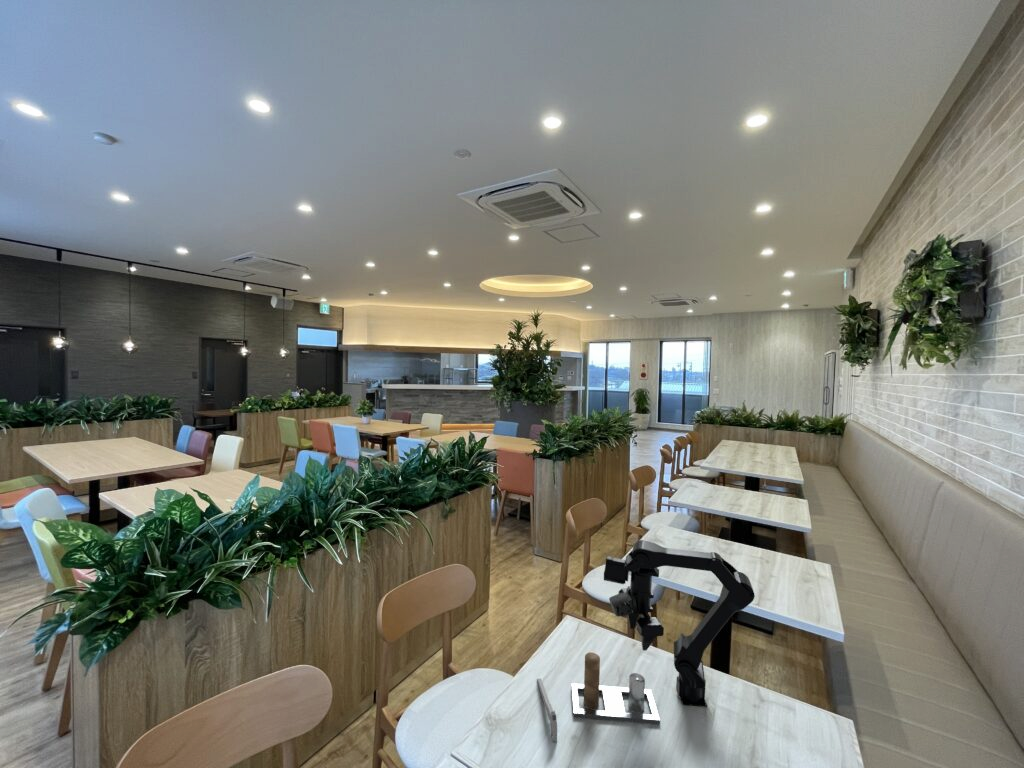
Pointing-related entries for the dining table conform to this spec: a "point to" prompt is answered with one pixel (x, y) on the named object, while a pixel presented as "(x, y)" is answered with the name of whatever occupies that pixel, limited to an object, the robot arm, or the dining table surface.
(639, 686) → the steel pin
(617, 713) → the plate
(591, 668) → the walnut pin
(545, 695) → the caliper
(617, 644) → the dining table surface
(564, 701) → the dining table surface
